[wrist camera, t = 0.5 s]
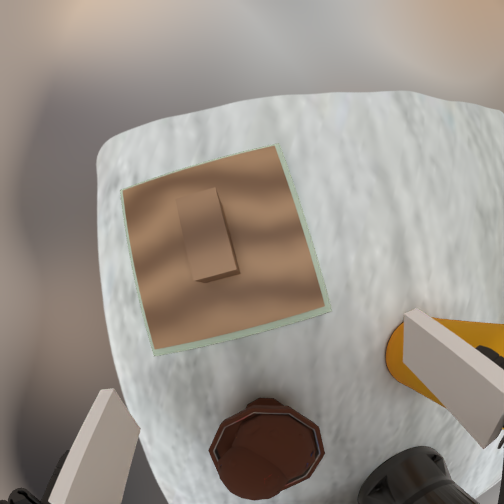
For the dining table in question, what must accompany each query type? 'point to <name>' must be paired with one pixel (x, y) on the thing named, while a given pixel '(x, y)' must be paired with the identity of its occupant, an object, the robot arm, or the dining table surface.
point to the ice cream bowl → (265, 449)
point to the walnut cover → (219, 249)
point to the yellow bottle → (473, 333)
